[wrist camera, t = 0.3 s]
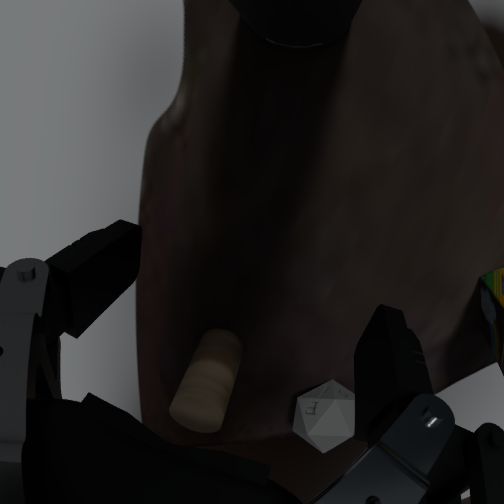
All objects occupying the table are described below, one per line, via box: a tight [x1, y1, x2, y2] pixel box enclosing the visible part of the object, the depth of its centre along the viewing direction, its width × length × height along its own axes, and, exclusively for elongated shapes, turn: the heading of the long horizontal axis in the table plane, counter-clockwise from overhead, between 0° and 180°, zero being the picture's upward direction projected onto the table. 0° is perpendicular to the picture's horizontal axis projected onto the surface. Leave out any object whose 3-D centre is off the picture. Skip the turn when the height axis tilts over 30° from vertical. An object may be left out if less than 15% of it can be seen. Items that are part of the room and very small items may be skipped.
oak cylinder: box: [169, 328, 244, 433], centre depth 32 cm, size 5×5×11 cm
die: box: [293, 379, 355, 453], centre depth 35 cm, size 8×9×10 cm
